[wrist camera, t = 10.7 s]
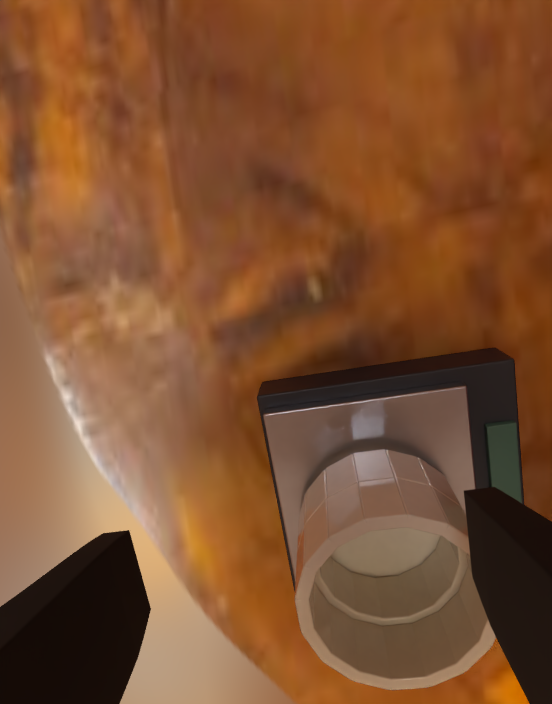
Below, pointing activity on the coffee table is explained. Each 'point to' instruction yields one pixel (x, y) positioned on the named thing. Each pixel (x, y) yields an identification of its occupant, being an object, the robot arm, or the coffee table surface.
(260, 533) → the coffee table surface
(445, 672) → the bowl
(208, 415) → the coffee table surface
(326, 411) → the scale
